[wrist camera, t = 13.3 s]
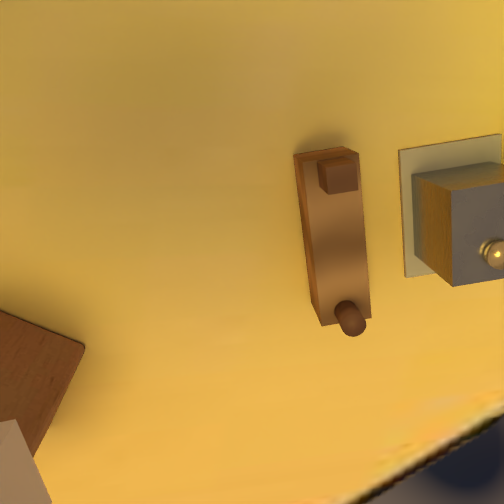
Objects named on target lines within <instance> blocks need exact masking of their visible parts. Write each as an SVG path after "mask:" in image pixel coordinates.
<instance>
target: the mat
mask: <svg viewBox="0 0 504 504" xmlns="http://www.w3.org/2000/svg"><path fill="white" fill-rule="evenodd" d="M501 137H502V134H495V135H489V136H483V137H477V138H471V139H465V140H458V141H452V142H446V143H440V144H434V145H428V146H422V147H416V148H410V149H403V150H398V156H399V176H400V195H401V215H402V235H403V254H404V274H405V277H406V278H410V277H416V276H422V275H428V274H434V273H435V272H434V271H433V270H432V269H431V268H429V267H428V266H427V265H426V264H424V263H423V262H422V261H421V260H420V259H418V258H417V257H416V256H415V255H414V233H413V210H412V187H411V174H415V173H421V172H428V171H434V170H440V169H446V168H452V167H458V166H464V165H470V164H476V163H482V162H488V161H491V162H495V163H499V164H501Z"/></svg>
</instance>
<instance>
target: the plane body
mask: <svg viewBox="0 0 504 504" xmlns="http://www.w3.org/2000/svg"><path fill="white" fill-rule="evenodd" d="M293 157H294V165H295V173H296V181H297V189H298V197H299V206H300V214H301V222H302V230H303V238H304V246H305V254H306V263H307V271H308V279H309V287H310V295H311V303H312V305H313V307H314V310H315V312H316V314H317V317H318V319H319V321H320V323H321V326H326V325H332V324H338V323H339V324H340V326H341V328H342V330H343V332H344V333H345V334H346V335H348V336H352V337H354V336H358V335H360V334H361V333H363V332H364V330H365V328H366V321H365V319H368V318H371V305H370V292H369V279H368V266H367V253H366V241H365V228H364V215H363V202H362V189H361V177H360V164H359V153H357V152H355V151H352V150H350V149H347V148H345V147H338V148H332V149H325V150H319V151H313V152H307V153H301V154H295V155H293Z"/></svg>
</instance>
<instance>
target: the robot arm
mask: <svg viewBox="0 0 504 504" xmlns="http://www.w3.org/2000/svg"><path fill="white" fill-rule="evenodd" d="M51 503H52V501H51V498H50V496H49V494H48V492H47V489H46V487H45V485H44V482H43V480H42V478H41V476H40V473H39V471H38V469H37V467H36V464H35V462H34V460H33V457H32V455H31V453H30V451H29V448H28V446H27V444H26V442H25V439H24V437H23V435H22V432H21V430H20V428H19V426H18V423H17V421H16V419H14V420H9V421H4V422H0V504H51Z"/></svg>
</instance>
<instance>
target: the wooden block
mask: <svg viewBox="0 0 504 504" xmlns="http://www.w3.org/2000/svg"><path fill="white" fill-rule="evenodd" d="M83 353H84V346H83V345H82V344H80V343H77V342H75V341H73V340H70V339H68V338H65V337H63V336H60V335H58V334H55V333H53V332H50V331H48V330H45V329H43V328H40V327H38V326H35V325H33V324H30V323H28V322H25V321H23V320H20V319H18V318H15V317H13V316H10V315H8V314H5V313H3V312H0V422H4V421H9V420H14V419H16V421H17V423H18V426H19V428H20V430H21V432H22V435H23V437H24V439H25V442H26V444H27V446H28V448H29V451H30V453H31V455H32V457H34V455H35V453H36V451H37V449H38V447H39V445H40V443H41V441H42V439H43V438H44V436H45V434H46V432H47V430H48V428H49V426H50V424H51V421H52V419H53V417H54V415H55V413H56V411H57V409H58V407H59V404H60V402H61V400H62V398H63V396H64V394H65V392H66V390H67V387H68V385H69V383H70V381H71V379H72V377H73V375H74V373H75V370H76V368H77V366H78V364H79V362H80V360H81V358H82V356H83Z"/></svg>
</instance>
